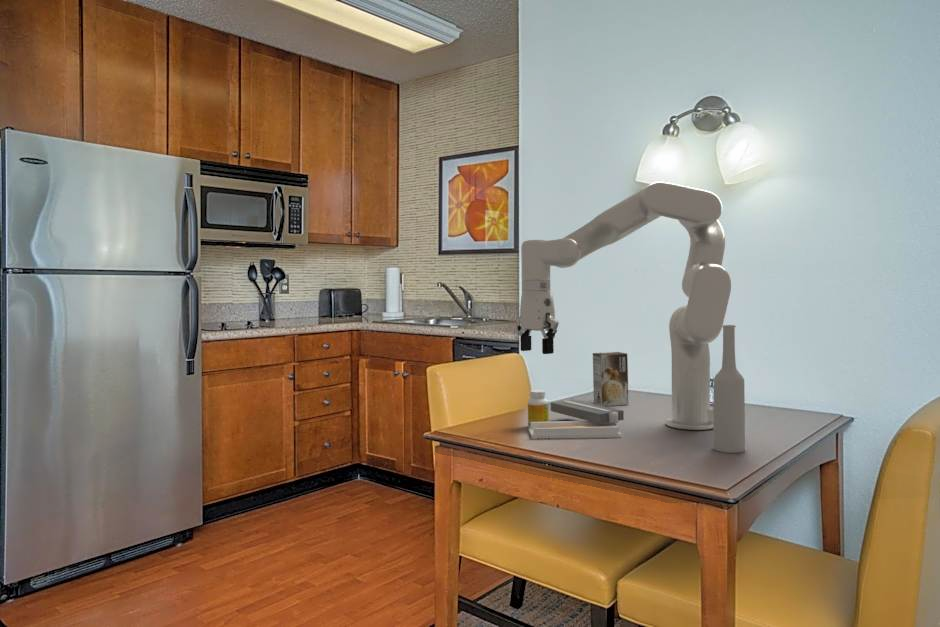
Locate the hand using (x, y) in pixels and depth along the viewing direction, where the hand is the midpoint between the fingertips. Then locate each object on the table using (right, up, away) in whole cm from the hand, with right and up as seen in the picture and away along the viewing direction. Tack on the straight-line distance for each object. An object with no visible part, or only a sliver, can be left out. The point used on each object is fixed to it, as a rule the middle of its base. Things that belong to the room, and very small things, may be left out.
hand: (536, 352), depth 172 cm
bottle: (+41, -21, -25) cm, 52 cm away
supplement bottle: (0, -20, +1) cm, 20 cm away
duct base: (+9, -20, -8) cm, 23 cm away
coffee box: (+26, -18, +32) cm, 45 cm away
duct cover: (+14, -17, +1) cm, 22 cm away
